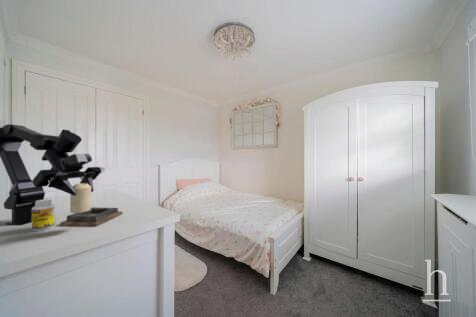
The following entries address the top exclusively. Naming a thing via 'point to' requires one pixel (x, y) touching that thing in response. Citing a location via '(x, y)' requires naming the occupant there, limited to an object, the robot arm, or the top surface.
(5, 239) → the top surface
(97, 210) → the socket
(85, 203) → the candle
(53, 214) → the supplement bottle
